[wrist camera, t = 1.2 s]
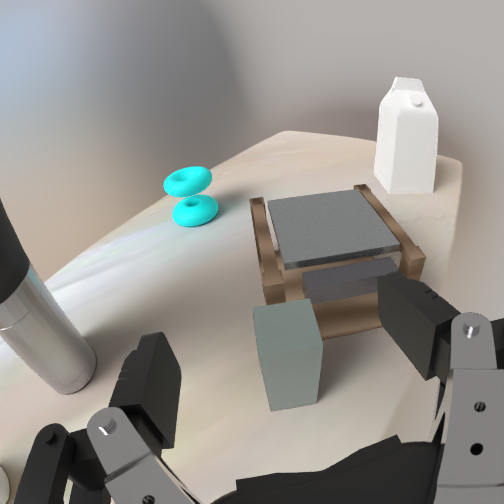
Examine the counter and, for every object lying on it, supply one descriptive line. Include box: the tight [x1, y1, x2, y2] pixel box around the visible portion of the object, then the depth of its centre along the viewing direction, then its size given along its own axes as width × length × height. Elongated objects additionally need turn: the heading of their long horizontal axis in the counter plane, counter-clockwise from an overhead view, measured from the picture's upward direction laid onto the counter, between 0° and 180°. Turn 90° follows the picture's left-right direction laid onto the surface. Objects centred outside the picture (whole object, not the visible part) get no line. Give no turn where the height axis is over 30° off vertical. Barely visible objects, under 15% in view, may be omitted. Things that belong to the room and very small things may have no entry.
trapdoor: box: [267, 189, 400, 305], centre depth 35 cm, size 17×13×3 cm
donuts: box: [164, 166, 218, 227], centre depth 60 cm, size 10×10×10 cm
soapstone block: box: [253, 298, 323, 411], centre depth 27 cm, size 5×5×12 cm
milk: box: [374, 77, 438, 194], centre depth 57 cm, size 12×12×26 cm
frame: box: [249, 184, 426, 340], centre depth 39 cm, size 18×18×11 cm
